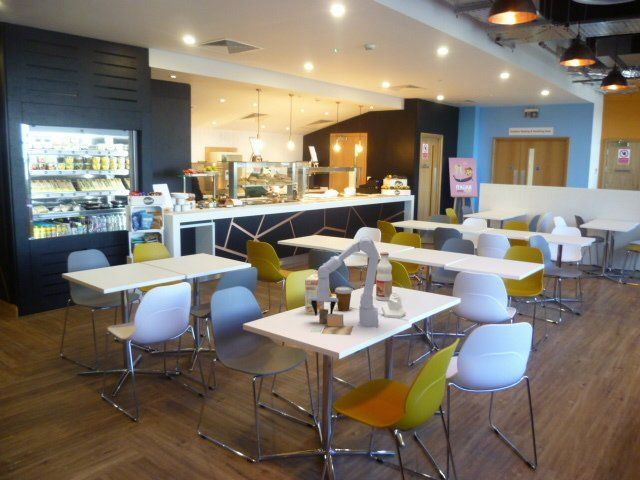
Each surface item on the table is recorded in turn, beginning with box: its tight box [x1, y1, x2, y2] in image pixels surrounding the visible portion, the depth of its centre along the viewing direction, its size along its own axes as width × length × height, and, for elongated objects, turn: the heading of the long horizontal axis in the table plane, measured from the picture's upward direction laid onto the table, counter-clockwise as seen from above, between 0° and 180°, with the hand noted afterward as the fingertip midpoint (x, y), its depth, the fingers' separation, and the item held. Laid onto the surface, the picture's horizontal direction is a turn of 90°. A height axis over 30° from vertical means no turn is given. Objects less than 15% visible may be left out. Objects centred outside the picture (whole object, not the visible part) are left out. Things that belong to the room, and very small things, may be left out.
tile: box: [326, 313, 344, 327], centre depth 264 cm, size 8×2×6 cm, turn 80°
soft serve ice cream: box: [381, 290, 407, 319], centre depth 284 cm, size 12×15×14 cm
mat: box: [320, 324, 355, 336], centre depth 259 cm, size 14×14×1 cm
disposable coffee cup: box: [334, 286, 353, 312], centre depth 295 cm, size 10×10×12 cm
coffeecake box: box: [304, 273, 325, 316], centre depth 291 cm, size 15×7×20 cm, turn 164°
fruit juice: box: [375, 252, 393, 302], centre depth 316 cm, size 9×9×28 cm
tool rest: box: [310, 328, 323, 333], centre depth 258 cm, size 5×5×1 cm
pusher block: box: [318, 308, 329, 325], centre depth 270 cm, size 4×4×7 cm
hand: (323, 315), depth 270 cm, fingers open, 7 cm apart
